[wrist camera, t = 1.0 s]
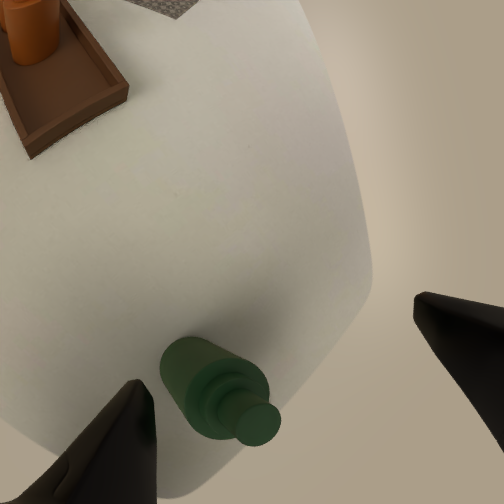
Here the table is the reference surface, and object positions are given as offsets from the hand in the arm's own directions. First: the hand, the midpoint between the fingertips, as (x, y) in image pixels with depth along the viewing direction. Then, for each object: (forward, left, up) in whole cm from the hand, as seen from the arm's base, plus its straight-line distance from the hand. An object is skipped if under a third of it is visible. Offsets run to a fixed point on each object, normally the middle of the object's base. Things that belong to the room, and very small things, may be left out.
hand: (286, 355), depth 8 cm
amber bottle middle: (+13, +22, -11) cm, 28 cm away
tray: (+13, +22, -12) cm, 28 cm away
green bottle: (-3, -1, -12) cm, 12 cm away
